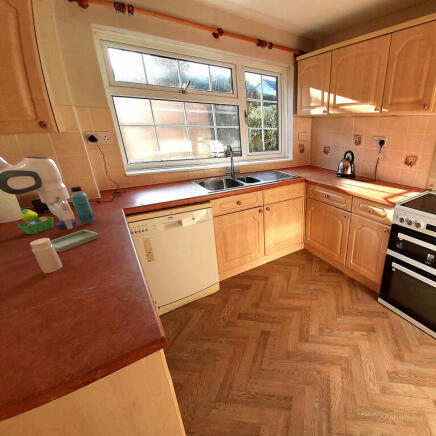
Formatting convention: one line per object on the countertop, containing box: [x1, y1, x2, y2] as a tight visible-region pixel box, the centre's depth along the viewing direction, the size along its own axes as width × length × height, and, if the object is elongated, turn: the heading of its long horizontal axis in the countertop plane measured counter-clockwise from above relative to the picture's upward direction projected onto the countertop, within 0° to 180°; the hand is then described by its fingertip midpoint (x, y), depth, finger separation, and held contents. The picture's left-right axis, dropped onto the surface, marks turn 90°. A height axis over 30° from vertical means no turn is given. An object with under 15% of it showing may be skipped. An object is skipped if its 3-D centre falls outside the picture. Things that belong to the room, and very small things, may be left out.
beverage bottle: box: [70, 185, 96, 224], centre depth 125 cm, size 6×7×20 cm
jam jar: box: [29, 237, 63, 274], centre depth 87 cm, size 5×5×11 cm
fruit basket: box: [17, 208, 54, 235], centre depth 120 cm, size 11×9×11 cm
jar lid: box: [55, 219, 78, 231], centre depth 106 cm, size 6×6×3 cm
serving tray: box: [50, 228, 100, 253], centre depth 109 cm, size 15×12×2 cm
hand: (67, 226), depth 106 cm, fingers closed on jar lid, 6 cm apart
